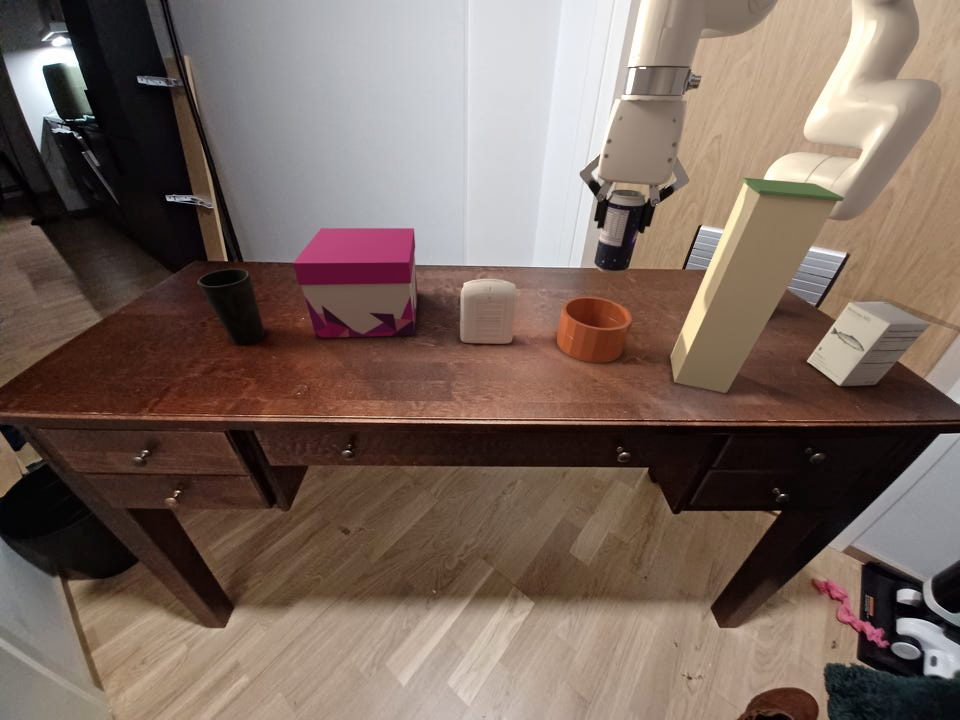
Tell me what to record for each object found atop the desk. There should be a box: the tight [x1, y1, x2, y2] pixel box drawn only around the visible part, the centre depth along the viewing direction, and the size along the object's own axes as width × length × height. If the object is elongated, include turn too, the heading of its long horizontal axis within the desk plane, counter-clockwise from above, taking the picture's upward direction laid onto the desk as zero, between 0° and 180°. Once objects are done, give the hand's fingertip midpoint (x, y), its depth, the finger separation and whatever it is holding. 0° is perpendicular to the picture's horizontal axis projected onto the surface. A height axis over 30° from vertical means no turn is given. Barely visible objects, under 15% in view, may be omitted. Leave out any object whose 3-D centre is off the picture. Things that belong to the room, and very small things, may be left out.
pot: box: [556, 296, 633, 364], centre depth 69 cm, size 12×12×7 cm
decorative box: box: [292, 227, 418, 339], centre depth 73 cm, size 19×19×15 cm
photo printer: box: [459, 278, 518, 345], centre depth 67 cm, size 10×4×12 cm, turn 92°
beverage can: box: [593, 189, 647, 275], centre depth 58 cm, size 6×6×12 cm
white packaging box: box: [806, 301, 932, 387], centre depth 62 cm, size 7×7×13 cm
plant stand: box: [669, 182, 837, 394], centre depth 55 cm, size 8×8×30 cm
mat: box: [741, 177, 844, 201], centre depth 46 cm, size 9×9×1 cm
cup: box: [197, 268, 266, 346], centre depth 66 cm, size 8×8×12 cm
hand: (620, 227), depth 58 cm, fingers closed on beverage can, 5 cm apart
